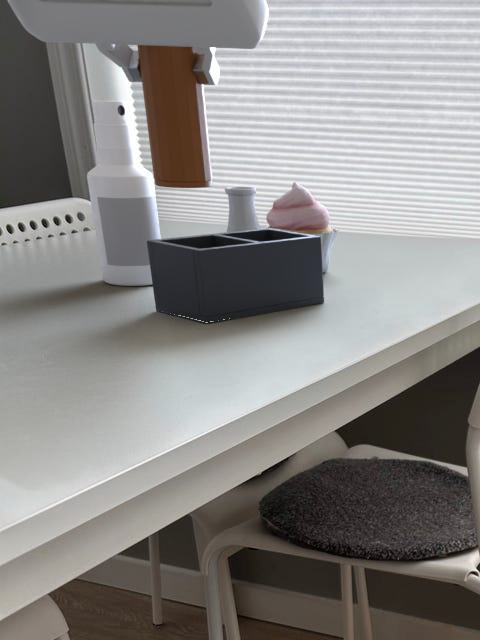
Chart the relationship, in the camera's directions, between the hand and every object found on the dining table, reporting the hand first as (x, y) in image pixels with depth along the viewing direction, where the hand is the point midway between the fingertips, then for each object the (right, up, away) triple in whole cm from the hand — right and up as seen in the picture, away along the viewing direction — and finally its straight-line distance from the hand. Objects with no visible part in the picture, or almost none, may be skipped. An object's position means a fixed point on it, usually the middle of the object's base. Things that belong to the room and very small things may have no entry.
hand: (175, 77), depth 82 cm
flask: (0, -8, +28) cm, 29 cm away
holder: (+2, -14, +16) cm, 22 cm away
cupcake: (+4, -3, +36) cm, 36 cm away
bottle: (0, -8, +4) cm, 8 cm away
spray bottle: (-13, -8, +26) cm, 30 cm away
